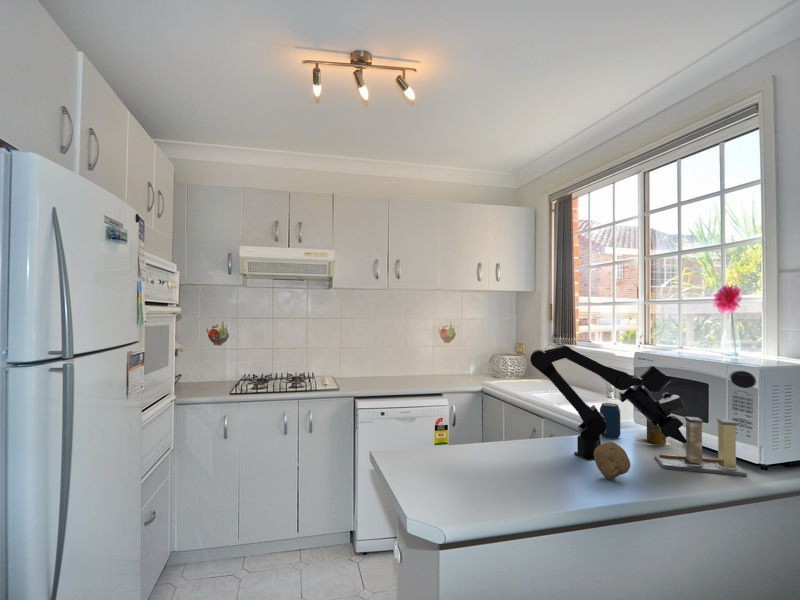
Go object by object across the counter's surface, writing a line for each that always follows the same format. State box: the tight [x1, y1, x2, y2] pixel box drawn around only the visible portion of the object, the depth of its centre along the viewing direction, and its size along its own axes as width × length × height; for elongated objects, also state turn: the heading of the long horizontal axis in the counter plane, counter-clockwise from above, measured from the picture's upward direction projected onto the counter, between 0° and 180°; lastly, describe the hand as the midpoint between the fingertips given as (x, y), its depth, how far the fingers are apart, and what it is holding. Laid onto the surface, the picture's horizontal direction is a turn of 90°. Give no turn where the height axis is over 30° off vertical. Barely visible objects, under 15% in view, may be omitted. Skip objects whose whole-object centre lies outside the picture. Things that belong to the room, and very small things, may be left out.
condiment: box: [636, 419, 672, 446], centre depth 159 cm, size 7×8×12 cm
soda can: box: [599, 402, 622, 440], centre depth 165 cm, size 7×7×12 cm
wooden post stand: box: [653, 418, 748, 477], centre depth 134 cm, size 21×10×14 cm, turn 73°
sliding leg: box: [684, 416, 704, 464], centre depth 134 cm, size 3×4×13 cm
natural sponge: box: [593, 441, 631, 480], centre depth 123 cm, size 9×9×10 cm
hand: (685, 442), depth 134 cm, fingers closed
